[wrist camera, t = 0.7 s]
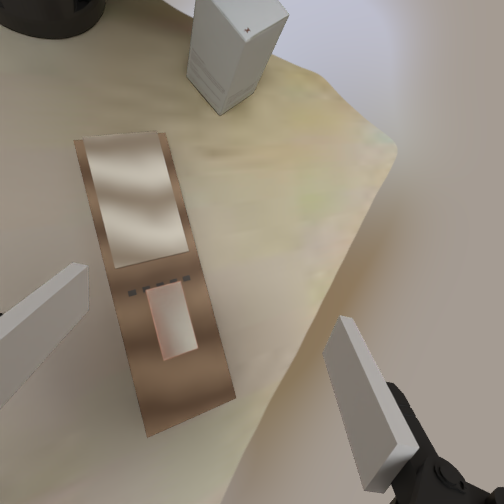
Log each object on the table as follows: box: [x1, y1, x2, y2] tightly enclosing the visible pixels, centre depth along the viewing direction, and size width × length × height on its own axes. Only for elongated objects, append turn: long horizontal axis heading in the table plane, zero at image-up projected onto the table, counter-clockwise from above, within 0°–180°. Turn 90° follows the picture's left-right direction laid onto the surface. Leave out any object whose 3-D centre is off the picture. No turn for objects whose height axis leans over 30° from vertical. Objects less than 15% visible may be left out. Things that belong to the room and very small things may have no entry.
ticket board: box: [73, 131, 236, 438], centre depth 33 cm, size 33×10×3 cm, turn 16°
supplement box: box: [186, 0, 289, 115], centre depth 35 cm, size 7×7×13 cm
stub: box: [146, 281, 198, 361], centre depth 26 cm, size 5×2×12 cm, turn 16°
